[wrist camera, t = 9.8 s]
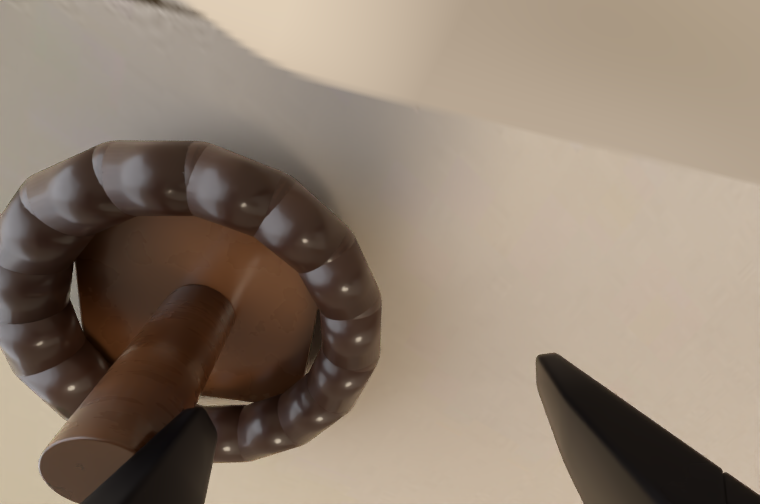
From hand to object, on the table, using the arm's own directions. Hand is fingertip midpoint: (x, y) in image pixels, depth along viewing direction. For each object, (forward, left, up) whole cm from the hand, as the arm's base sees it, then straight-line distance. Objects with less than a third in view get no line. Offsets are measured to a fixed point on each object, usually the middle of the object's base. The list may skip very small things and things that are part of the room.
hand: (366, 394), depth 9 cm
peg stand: (+3, -5, -6) cm, 9 cm away
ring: (+2, -5, -4) cm, 7 cm away
